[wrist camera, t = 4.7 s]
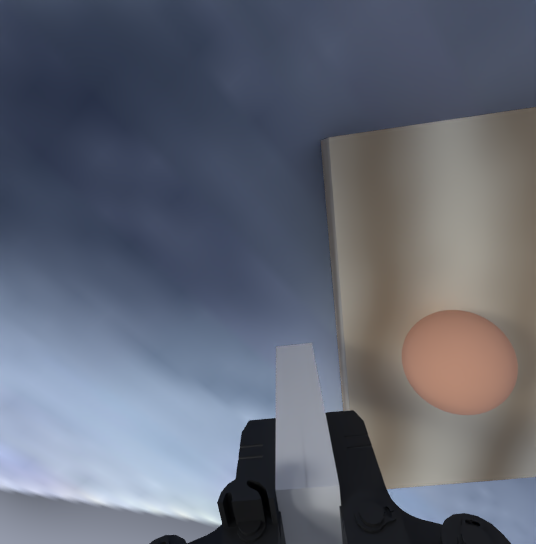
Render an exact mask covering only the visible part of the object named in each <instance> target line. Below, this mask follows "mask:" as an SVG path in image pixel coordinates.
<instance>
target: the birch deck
mask: <svg viewBox="0 0 536 544" xmlns="http://www.w3.org/2000/svg"><path fill="white" fill-rule="evenodd" d="M321 152H322V164H323V176H324V188H325V200H326V211H327V223H328V235H329V247H330V259H331V271H332V283H333V295H334V307H335V319H336V330H337V342H338V354H339V366H340V378H341V390H342V402H343V411H350V410H354V411H355V412H356V413H357V414H358V415H359V416H360V417H361V419H362V420H363V421H364V423H365V426H366V429H367V432H368V436H369V438H370V441H371V444H372V448H373V450H374V453H375V456H376V459H377V462H378V465H379V468H380V471H381V474H382V477H383V480H384V483H385V486H386V489H394V488H406V487H419V486H431V485H443V484H455V483H468V482H480V481H492V480H505V479H517V478H529V477H536V107H532V108H525V109H518V110H511V111H504V112H498V113H491V114H484V115H477V116H470V117H464V118H457V119H450V120H443V121H436V122H430V123H423V124H416V125H409V126H403V127H396V128H389V129H382V130H375V131H369V132H362V133H355V134H348V135H341V136H335V137H328V138H326V139H324V140H321ZM444 310H461V311H467V312H471V313H474V314H477V315H479V316H482V317H484V318H486V319H487V320H489V321H490V322H492V323H493V324H495V325H496V326H497V327H498V328H499V329H500V330H501V331H502V332H503V333H504V334H505V335H506V337H507V338H508V339H509V341H510V342H511V344H512V346H513V348H514V350H515V353H516V357H517V362H518V376H517V381H516V384H515V387H514V389H513V391H512V392H511V394H510V395H509V397H508V398H507V399H506V400H505V401H504V402H503V403H502V404H500V405H499V406H498V407H496V408H494V409H492V410H490V411H488V412H485V413H481V414H476V415H458V414H452V413H448V412H445V411H443V410H440V409H438V408H436V407H434V406H432V405H431V404H429V403H428V402H426V401H425V400H424V399H423V398H421V397H420V396H419V395H418V394H417V393H416V391H415V390H414V389H413V388H412V386H411V385H410V383H409V382H408V379H407V377H406V375H405V373H404V369H403V365H402V347H403V343H404V340H405V338H406V336H407V334H408V332H409V331H410V329H411V328H412V327H413V326H414V325H415V324H416V323H417V322H418V321H420V320H421V319H422V318H424V317H426V316H428V315H430V314H432V313H435V312H439V311H444Z"/></svg>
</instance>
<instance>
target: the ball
mask: <svg viewBox="0 0 536 544" xmlns="http://www.w3.org/2000/svg"><path fill="white" fill-rule="evenodd" d="M402 365H403V369H404V373H405V375H406V377H407V379H408V382H409V383H410V385H411V386H412V388H413V389H414V390H415V391H416V393H417V394H418V395H419V396H420V397H421V398H423V399H424V400H425V401H426V402H428V403H429V404H431V405H432V406H434V407H436V408H438V409H440V410H443V411H445V412H448V413H452V414H458V415H476V414H481V413H485V412H488V411H490V410H492V409H494V408H496V407H498V406H499V405H500V404H502V403H503V402H504V401H505V400H506V399H507V398H508V397H509V395H510V394H511V392H512V391H513V389H514V387H515V384H516V381H517V376H518V362H517V357H516V353H515V350H514V348H513V346H512V344H511V342H510V341H509V339H508V338H507V337H506V335H505V334H504V333H503V332H502V331H501V330H500V329H499V328H498V327H497V326H496V325H495V324H493V323H492V322H490V321H489V320H487V319H486V318H484V317H482V316H479V315H477V314H474V313H471V312H467V311H461V310H444V311H439V312H435V313H432V314H430V315H428V316H426V317H424V318H422V319H421V320H420V321H418V322H417V323H416V324H415V325H414V326H413V327H412V328H411V329H410V331H409V332H408V334H407V336H406V338H405V340H404V343H403V347H402Z"/></svg>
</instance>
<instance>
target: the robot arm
mask: <svg viewBox="0 0 536 544" xmlns="http://www.w3.org/2000/svg"><path fill="white" fill-rule="evenodd" d="M217 503H218V507H219V512H220V516H221V520H222V525H221V526H220V527H218V528H217V529H216V530H215V531H213V532H212V533H210V534H208V535H207V536H204V537H202V538H199V539H197V540H194V541H192V542H190V543H186V541H185V540H184V539H183V538H181V537H179V536H177V535H165V536H163V537H160V538H158V539H156V540H154V541H152V542H151V543H150V544H511V543H510V542H509V541H508V540H507V539H506V537H505V536H504V535H503V534H502V533H501V532H500V531H499V530H498V529H496V528H495V527H494V526H493V525H492V524H491V523H489V522H487V521H485V520H484V519H482V518H480V517H478V516H474V515H470V514H466V513H462V514H453V515H452V516H450V517H449V518H447V519H446V520H445V521H444V523H443V525H441V524H437V523H433V522H429V521H425V520H421V519H419V518H416V517H413V516H411V515H409V514H408V513H406V512H404V511H403V510H402V509H400V508H399V507H398V506H397V505H396V504H395V503H394V502H393V500H392V499H391V498H390V496H389V494H388V491H387V489H386V486H385V483H384V480H383V477H382V474H381V471H380V468H379V465H378V462H377V459H376V456H375V453H374V450H373V448H372V444H371V441H370V438H369V436H368V432H367V429H366V426H365V423H364V421H363V420H362V419H361V417H360V416H359V415H358V414H357V413H356V412H355V411H354V410H350V411H339V412H328V413H325V408H324V403H323V398H322V393H321V388H320V383H319V377H318V372H317V367H316V362H315V357H314V351H313V346H312V343H305V344H295V345H286V346H276V418H272V419H261V420H250V421H249V422H248V423H247V425H246V427H245V428H244V430H243V431H242V435H241V442H240V450H239V460H238V466H237V473H236V479H235V480H234V481H232V482H230V483H229V484H228V485H227V486H226V487H225V488H224V490H223V491H222V492H221V494H220V497H219V500H218V502H217Z"/></svg>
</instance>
